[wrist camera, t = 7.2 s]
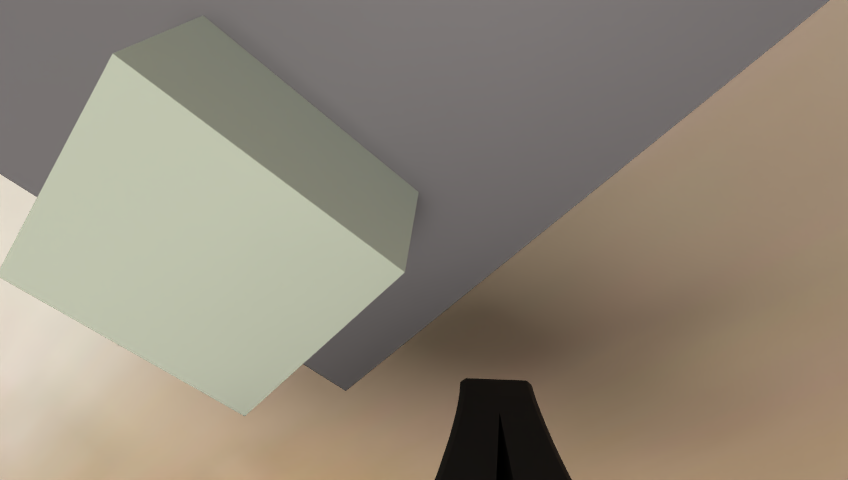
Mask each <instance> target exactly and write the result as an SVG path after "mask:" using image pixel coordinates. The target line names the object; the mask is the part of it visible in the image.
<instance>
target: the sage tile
mask: <svg viewBox="0 0 848 480" xmlns="http://www.w3.org/2000/svg"><path fill="white" fill-rule="evenodd" d="M418 193H419V192H418V191H417V190H415V189H414V188H413V187H412V186H411V185H409V184H408V183H407V182H406V181H405V180H403V179H402V178H401V177H400V176H398V175H397V174H396V173H395V172H394V171H392V170H391V169H390V168H389V167H387V166H386V165H385V164H384V163H383V162H381V161H380V160H379V159H378V158H376V157H375V156H374V155H373V154H372V153H370V152H369V151H368V150H367V149H365V148H364V147H363V146H362V145H361V144H359V143H358V142H357V141H356V140H355V139H353V138H352V137H351V136H350V135H348V134H347V133H346V132H345V131H344V130H342V129H341V128H340V127H339V126H337V125H336V124H335V123H334V122H333V121H331V120H330V119H329V118H328V117H326V116H325V115H324V114H323V113H322V112H320V111H319V110H318V109H317V108H315V107H314V106H313V105H312V104H311V103H309V102H308V101H307V100H306V99H304V98H303V97H302V96H301V95H300V94H298V93H297V92H296V91H295V90H294V89H292V88H291V87H290V86H289V85H287V84H286V83H285V82H284V81H283V80H281V79H280V78H279V77H278V76H276V75H275V74H274V73H273V72H272V71H270V70H269V69H268V68H267V67H265V66H264V65H263V64H262V63H261V62H259V61H258V60H257V59H256V58H254V57H253V56H252V55H251V54H250V53H248V52H247V51H246V50H245V49H244V48H242V47H241V46H240V45H239V44H237V43H236V42H235V41H234V40H233V39H231V38H230V37H229V36H228V35H226V34H225V33H224V32H223V31H222V30H220V29H219V28H218V27H217V26H215V25H214V24H213V23H212V22H211V21H209V20H208V19H207V18H206V17H204V16H201V17H198V18H196V19H194V20H191V21H189V22H186V23H184V24H182V25H179V26H177V27H175V28H172V29H170V30H167V31H165V32H163V33H160V34H158V35H156V36H153V37H151V38H148V39H146V40H144V41H141V42H139V43H136V44H134V45H132V46H129V47H127V48H125V49H122V50H120V51H117V52H115V53H113V54H112V56H111V58H110V59H109V61H108V63H107V65H106V67H105V69H104V71H103V73H102V75H101V77H100V79H99V80H98V82H97V84H96V86H95V88H94V90H93V92H92V94H91V96H90V98H89V100H88V102H87V103H86V105H85V107H84V109H83V111H82V113H81V115H80V117H79V119H78V121H77V123H76V124H75V126H74V128H73V130H72V132H71V134H70V136H69V138H68V140H67V142H66V144H65V145H64V147H63V149H62V151H61V153H60V155H59V157H58V159H57V161H56V163H55V165H54V167H53V168H52V170H51V172H50V174H49V176H48V178H47V180H46V182H45V184H44V186H43V188H42V189H41V191H40V193H39V195H38V197H37V199H36V201H35V203H34V205H33V207H32V209H31V210H30V212H29V214H28V216H27V218H26V220H25V222H24V224H23V226H22V228H21V230H20V232H19V233H18V235H17V237H16V239H15V241H14V243H13V245H12V247H11V249H10V251H9V253H8V254H7V256H6V258H5V260H4V262H3V264H2V266H1V268H0V278H2V279H3V280H5V281H7V282H9V283H10V284H12V285H14V286H16V287H17V288H19V289H21V290H23V291H24V292H26V293H28V294H30V295H32V296H33V297H35V298H37V299H39V300H40V301H42V302H44V303H46V304H47V305H49V306H51V307H53V308H54V309H56V310H58V311H60V312H62V313H63V314H65V315H67V316H69V317H70V318H72V319H74V320H76V321H77V322H79V323H81V324H83V325H84V326H86V327H88V328H90V329H92V330H93V331H95V332H97V333H99V334H100V335H102V336H104V337H106V338H107V339H109V340H111V341H113V342H114V343H116V344H118V345H120V346H122V347H123V348H125V349H127V350H129V351H130V352H132V353H134V354H136V355H137V356H139V357H141V358H143V359H144V360H146V361H148V362H150V363H152V364H153V365H155V366H157V367H159V368H160V369H162V370H164V371H166V372H167V373H169V374H171V375H173V376H175V377H176V378H178V379H180V380H182V381H183V382H185V383H187V384H189V385H190V386H192V387H194V388H196V389H197V390H199V391H201V392H203V393H205V394H206V395H208V396H210V397H212V398H213V399H215V400H217V401H219V402H220V403H222V404H224V405H226V406H227V407H229V408H231V409H233V410H235V411H236V412H238V413H240V414H242V415H243V416H246V415H247V414H248V413H249V412H250V411H251V410H252V409H253V408H254V407H256V406H257V405H258V404H259V403H260V402H261V401H262V400H263V399H264V398H266V397H267V396H268V395H269V394H270V393H271V392H272V391H273V390H275V389H276V388H277V387H278V386H279V385H280V384H281V383H282V382H283V381H285V380H286V379H287V378H288V377H289V376H290V375H291V374H292V373H293V372H295V371H296V370H297V369H298V368H299V367H300V366H301V365H302V364H303V363H305V362H306V361H307V360H308V359H309V358H310V357H311V356H312V355H313V354H315V353H316V352H317V351H318V350H319V349H320V348H321V347H322V346H323V345H325V344H326V343H327V342H328V341H329V340H330V339H331V338H332V337H333V336H335V335H336V334H337V333H338V332H339V331H340V330H341V329H342V328H343V327H345V326H346V325H347V324H348V323H349V322H350V321H351V320H352V319H353V318H355V317H356V316H357V315H358V314H359V313H360V312H361V311H362V310H363V309H365V308H366V307H367V306H368V305H369V304H370V303H371V302H372V301H373V300H375V299H376V298H377V297H378V296H379V295H380V294H381V293H382V292H383V291H385V290H386V289H387V288H388V287H389V286H390V285H391V284H392V283H393V282H395V281H396V280H397V279H398V278H399V277H400V276H401V275H402V274H403V273H405V268H406V263H407V257H408V251H409V245H410V240H411V234H412V228H413V222H414V217H415V211H416V205H417V199H418Z"/></svg>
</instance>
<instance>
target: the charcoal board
mask: <svg viewBox="0 0 848 480" xmlns="http://www.w3.org/2000/svg"><path fill="white" fill-rule="evenodd" d="M828 1H829V0H0V174H1V175H3V176H4V177H6V178H8V179H9V180H11V181H12V182H14V183H15V184H17V185H19V186H20V187H22V188H23V189H25V190H27V191H28V192H30V193H31V194H33V195H35V196H36V197H38V195H39V193H40V191H41V189H42V188H43V186H44V184H45V182H46V180H47V178H48V176H49V174H50V172H51V170H52V168H53V167H54V165H55V163H56V161H57V159H58V157H59V155H60V153H61V151H62V149H63V147H64V145H65V144H66V142H67V140H68V138H69V136H70V134H71V132H72V130H73V128H74V126H75V124H76V123H77V121H78V119H79V117H80V115H81V113H82V111H83V109H84V107H85V105H86V103H87V102H88V100H89V98H90V96H91V94H92V92H93V90H94V88H95V86H96V84H97V82H98V80H99V79H100V77H101V75H102V73H103V71H104V69H105V67H106V65H107V63H108V61H109V59H110V58H111V56H112V54H113V53H115V52H117V51H120V50H122V49H125V48H127V47H129V46H132V45H134V44H136V43H139V42H141V41H144V40H146V39H148V38H151V37H153V36H156V35H158V34H160V33H163V32H165V31H167V30H170V29H172V28H175V27H177V26H179V25H182V24H184V23H186V22H189V21H191V20H194V19H196V18H198V17H201V16H204V17H206V18H207V19H208V20H209V21H211V22H212V23H213V24H214V25H215V26H217V27H218V28H219V29H220V30H222V31H223V32H224V33H225V34H226V35H228V36H229V37H230V38H231V39H233V40H234V41H235V42H236V43H237V44H239V45H240V46H241V47H242V48H244V49H245V50H246V51H247V52H248V53H250V54H251V55H252V56H253V57H254V58H256V59H257V60H258V61H259V62H261V63H262V64H263V65H264V66H265V67H267V68H268V69H269V70H270V71H272V72H273V73H274V74H275V75H276V76H278V77H279V78H280V79H281V80H283V81H284V82H285V83H286V84H287V85H289V86H290V87H291V88H292V89H294V90H295V91H296V92H297V93H298V94H300V95H301V96H302V97H303V98H304V99H306V100H307V101H308V102H309V103H311V104H312V105H313V106H314V107H315V108H317V109H318V110H319V111H320V112H322V113H323V114H324V115H325V116H326V117H328V118H329V119H330V120H331V121H333V122H334V123H335V124H336V125H337V126H339V127H340V128H341V129H342V130H344V131H345V132H346V133H347V134H348V135H350V136H351V137H352V138H353V139H355V140H356V141H357V142H358V143H359V144H361V145H362V146H363V147H364V148H365V149H367V150H368V151H369V152H370V153H372V154H373V155H374V156H375V157H376V158H378V159H379V160H380V161H381V162H383V163H384V164H385V165H386V166H387V167H389V168H390V169H391V170H392V171H394V172H395V173H396V174H397V175H398V176H400V177H401V178H402V179H403V180H405V181H406V182H407V183H408V184H409V185H411V186H412V187H413V188H414V189H415V190H417V191H418V192H419V193H418V199H417V205H416V211H415V217H414V222H413V228H412V234H411V240H410V245H409V251H408V257H407V263H406V268H405V273H403V274H402V275H401V276H400V277H399V278H398V279H397V280H396V281H395V282H393V283H392V284H391V285H390V286H389V287H388V288H387V289H386V290H385V291H383V292H382V293H381V294H380V295H379V296H378V297H377V298H376V299H375V300H373V301H372V302H371V303H370V304H369V305H368V306H367V307H366V308H365V309H363V310H362V311H361V312H360V313H359V314H358V315H357V316H356V317H355V318H353V319H352V320H351V321H350V322H349V323H348V324H347V325H346V326H345V327H343V328H342V329H341V330H340V331H339V332H338V333H337V334H336V335H335V336H333V337H332V338H331V339H330V340H329V341H328V342H327V343H326V344H325V345H323V346H322V347H321V348H320V349H319V350H318V351H317V352H316V353H315V354H313V355H312V356H311V357H310V358H309V359H308V360H307V361H306V362H305V363H303V364H304V365H305V366H307V367H309V368H310V369H312V370H313V371H315V372H316V373H318V374H320V375H321V376H323V377H324V378H326V379H328V380H329V381H331V382H332V383H334V384H336V385H337V386H339V387H340V388H342V389H344V390H345V391H346V390H347V389H349V388H350V387H351V386H352V385H354V384H355V383H356V382H357V381H359V380H360V379H361V378H362V377H364V376H365V375H366V374H367V373H369V372H370V371H371V370H372V369H373V368H375V367H376V366H377V365H378V364H380V363H381V362H382V361H383V360H385V359H386V358H387V357H388V356H390V355H391V354H392V353H393V352H395V351H396V350H397V349H398V348H399V347H401V346H402V345H403V344H404V343H406V342H407V341H408V340H409V339H411V338H412V337H413V336H414V335H416V334H417V333H418V332H419V331H421V330H422V329H423V328H424V327H426V326H427V325H428V324H429V323H430V322H432V321H433V320H434V319H435V318H437V317H438V316H439V315H440V314H442V313H443V312H444V311H445V310H447V309H448V308H449V307H450V306H452V305H453V304H454V303H455V302H456V301H458V300H459V299H460V298H461V297H463V296H464V295H465V294H466V293H468V292H469V291H470V290H471V289H473V288H474V287H475V286H476V285H478V284H479V283H480V282H481V281H483V280H484V279H485V278H486V277H487V276H489V275H490V274H491V273H492V272H494V271H495V270H496V269H497V268H499V267H500V266H501V265H502V264H504V263H505V262H506V261H507V260H509V259H510V258H511V257H512V256H513V255H515V254H516V253H517V252H518V251H520V250H521V249H522V248H523V247H525V246H526V245H527V244H528V243H530V242H531V241H532V240H533V239H535V238H536V237H537V236H538V235H540V234H541V233H542V232H543V231H544V230H546V229H547V228H548V227H549V226H551V225H552V224H553V223H554V222H556V221H557V220H558V219H559V218H561V217H562V216H563V215H564V214H566V213H567V212H568V211H569V210H571V209H572V208H573V207H574V206H575V205H577V204H578V203H579V202H580V201H582V200H583V199H584V198H585V197H587V196H588V195H589V194H590V193H592V192H593V191H594V190H595V189H597V188H598V187H599V186H600V185H601V184H603V183H604V182H605V181H606V180H608V179H609V178H610V177H611V176H613V175H614V174H615V173H616V172H618V171H619V170H620V169H621V168H623V167H624V166H625V165H626V164H628V163H629V162H630V161H631V160H632V159H634V158H635V157H636V156H637V155H639V154H640V153H641V152H642V151H644V150H645V149H646V148H647V147H649V146H650V145H651V144H652V143H654V142H655V141H656V140H657V139H658V138H660V137H661V136H662V135H663V134H665V133H666V132H667V131H668V130H670V129H671V128H672V127H673V126H675V125H676V124H677V123H678V122H680V121H681V120H682V119H683V118H685V117H686V116H687V115H688V114H689V113H691V112H692V111H693V110H694V109H696V108H697V107H698V106H699V105H701V104H702V103H703V102H704V101H706V100H707V99H708V98H709V97H711V96H712V95H713V94H714V93H715V92H717V91H718V90H719V89H720V88H722V87H723V86H724V85H725V84H727V83H728V82H729V81H730V80H732V79H733V78H734V77H735V76H737V75H738V74H739V73H740V72H742V71H743V70H744V69H745V68H746V67H748V66H749V65H750V64H751V63H753V62H754V61H755V60H756V59H758V58H759V57H760V56H761V55H763V54H764V53H765V52H766V51H768V50H769V49H770V48H771V47H772V46H774V45H775V44H776V43H777V42H779V41H780V40H781V39H782V38H784V37H785V36H786V35H787V34H789V33H790V32H791V31H792V30H794V29H795V28H796V27H797V26H799V25H800V24H801V23H802V22H803V21H805V20H806V19H807V18H808V17H810V16H811V15H812V14H813V13H815V12H816V11H817V10H818V9H820V8H821V7H822V6H823V5H825V4H826V3H827V2H828Z"/></svg>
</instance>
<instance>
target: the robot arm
mask: <svg viewBox="0 0 848 480" xmlns="http://www.w3.org/2000/svg"><path fill="white" fill-rule="evenodd" d="M435 480H571V478H570V476H569V474H568V472H567V470H566V468H565V466H564V464H563V462H562V460H561V458H560V456H559V453H558V451H557V449H556V447H555V445H554V443H553V440H552V438H551V436H550V433H549V431H548V429H547V427H546V424H545V422H544V419H543V417H542V414H541V412H540V409H539V406H538V404H537V401H536V398H535V395H534V392H533V389H532V385H531V384H530V383H529V382H528V381H522V380H496V379H470V378H466V379H464V380H463V381H461V382H460V394H459V400H458V406H457V411H456V415H455V419H454V423H453V426H452V430H451V434H450V437H449V440H448V443H447V446H446V449H445V452H444V455H443V458H442V461H441V464H440V467H439V470H438V473H437V475H436V478H435Z"/></svg>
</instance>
